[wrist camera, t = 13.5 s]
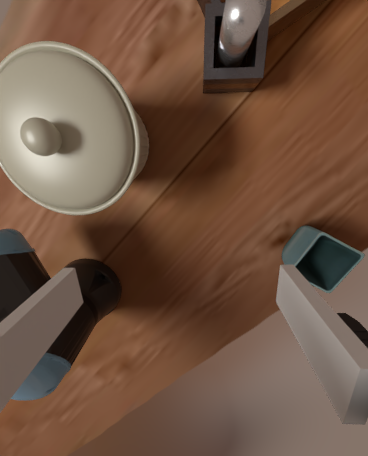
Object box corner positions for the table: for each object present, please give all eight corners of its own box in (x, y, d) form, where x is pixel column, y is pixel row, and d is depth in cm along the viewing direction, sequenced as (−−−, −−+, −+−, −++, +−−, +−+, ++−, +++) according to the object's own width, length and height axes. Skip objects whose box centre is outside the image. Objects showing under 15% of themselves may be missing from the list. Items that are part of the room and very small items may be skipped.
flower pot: (334, 234, 42) (367, 255, 34) (305, 268, 45) (330, 294, 36) (297, 214, 41) (321, 231, 33) (270, 250, 44) (287, 273, 36)
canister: (50, 128, 39) (-104, 104, 19) (124, 63, 35) (24, -53, 15) (109, 208, 44) (34, 255, 24) (182, 160, 39) (164, 168, 20)
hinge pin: (214, 78, 35) (223, 32, 21) (215, 49, 33) (226, -20, 20) (239, 77, 34) (263, 31, 21) (241, 47, 33) (268, -23, 20)
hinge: (177, 93, 36) (171, 80, 29) (175, -55, 30) (167, -115, 23) (314, 90, 34) (341, 75, 27) (343, -68, 28) (387, -136, 21)
